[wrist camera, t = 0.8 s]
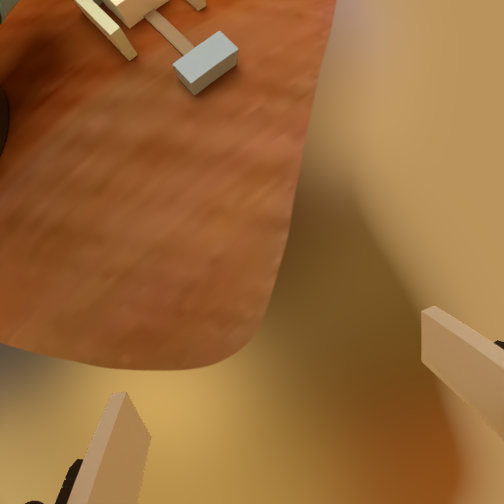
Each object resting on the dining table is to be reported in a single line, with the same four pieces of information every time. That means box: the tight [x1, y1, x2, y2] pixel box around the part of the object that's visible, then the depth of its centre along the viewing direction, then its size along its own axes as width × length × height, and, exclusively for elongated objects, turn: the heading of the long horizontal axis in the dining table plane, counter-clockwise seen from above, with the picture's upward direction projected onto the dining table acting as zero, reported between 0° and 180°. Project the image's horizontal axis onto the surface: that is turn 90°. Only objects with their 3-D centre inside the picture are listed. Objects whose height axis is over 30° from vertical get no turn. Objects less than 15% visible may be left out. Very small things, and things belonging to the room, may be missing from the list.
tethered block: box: [102, 0, 239, 96], centre depth 27 cm, size 19×6×6 cm, turn 40°
